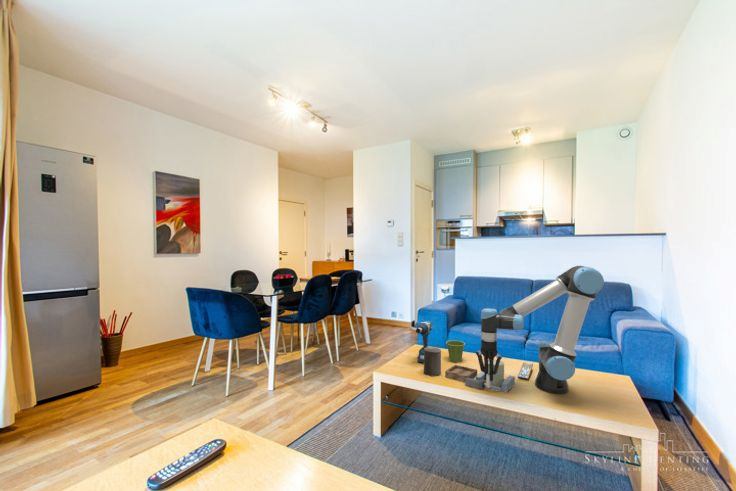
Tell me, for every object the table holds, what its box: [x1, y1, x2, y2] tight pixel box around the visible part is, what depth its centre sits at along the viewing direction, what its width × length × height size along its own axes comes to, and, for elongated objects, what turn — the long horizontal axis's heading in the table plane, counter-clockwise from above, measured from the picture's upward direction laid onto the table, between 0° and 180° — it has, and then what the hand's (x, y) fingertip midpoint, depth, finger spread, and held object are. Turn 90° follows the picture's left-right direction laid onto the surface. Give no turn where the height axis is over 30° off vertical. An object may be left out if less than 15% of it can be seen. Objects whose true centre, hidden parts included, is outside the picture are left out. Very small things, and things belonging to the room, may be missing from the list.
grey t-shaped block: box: [464, 377, 486, 391], centre depth 176 cm, size 9×4×4 cm, turn 51°
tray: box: [445, 364, 478, 383], centre depth 189 cm, size 13×13×4 cm
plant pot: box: [445, 339, 466, 363], centre depth 216 cm, size 12×12×11 cm
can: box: [488, 359, 505, 388], centre depth 179 cm, size 9×9×12 cm
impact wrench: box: [415, 320, 434, 364], centre depth 213 cm, size 8×22×25 cm, turn 152°
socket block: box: [474, 371, 516, 393], centre depth 179 cm, size 16×15×4 cm
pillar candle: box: [423, 346, 442, 377], centre depth 195 cm, size 10×10×15 cm
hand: (488, 386), depth 171 cm, fingers closed
